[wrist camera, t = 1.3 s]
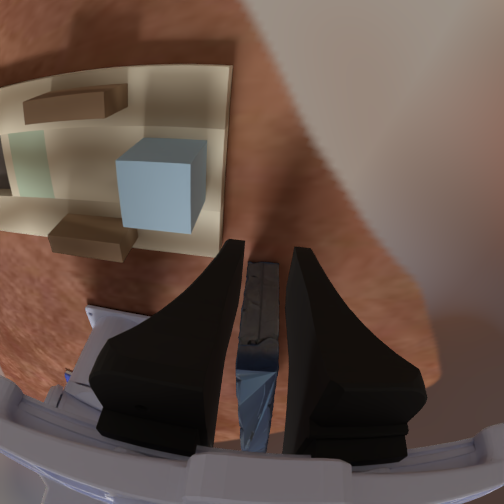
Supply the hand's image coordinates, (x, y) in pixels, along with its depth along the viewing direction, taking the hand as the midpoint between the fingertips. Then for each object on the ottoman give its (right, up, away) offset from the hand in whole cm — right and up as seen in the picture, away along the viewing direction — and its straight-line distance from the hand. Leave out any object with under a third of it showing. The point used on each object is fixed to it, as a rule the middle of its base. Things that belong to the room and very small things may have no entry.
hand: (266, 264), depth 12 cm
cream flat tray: (-14, +8, +8) cm, 18 cm away
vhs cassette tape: (0, -7, +18) cm, 19 cm away
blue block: (-5, +6, +7) cm, 10 cm away
